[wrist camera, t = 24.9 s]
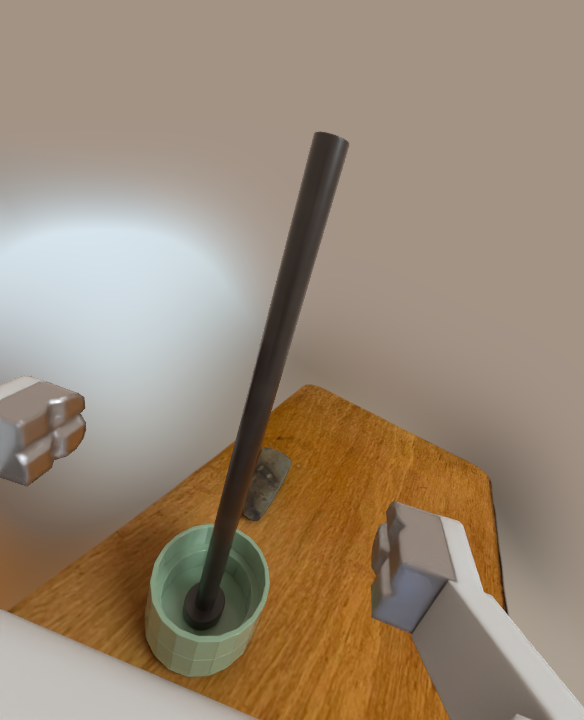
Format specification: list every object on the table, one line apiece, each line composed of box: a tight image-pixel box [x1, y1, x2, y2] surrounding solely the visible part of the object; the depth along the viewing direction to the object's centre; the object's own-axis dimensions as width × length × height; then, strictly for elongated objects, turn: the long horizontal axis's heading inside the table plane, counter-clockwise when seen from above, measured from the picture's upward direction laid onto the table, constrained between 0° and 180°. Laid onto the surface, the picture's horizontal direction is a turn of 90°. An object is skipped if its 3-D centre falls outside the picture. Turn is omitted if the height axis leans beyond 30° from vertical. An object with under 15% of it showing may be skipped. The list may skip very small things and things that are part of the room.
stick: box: [183, 132, 349, 630], centre depth 24 cm, size 4×4×38 cm
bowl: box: [144, 524, 270, 677], centre depth 30 cm, size 10×10×6 cm
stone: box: [242, 447, 291, 521], centre depth 47 cm, size 13×5×2 cm, turn 170°
